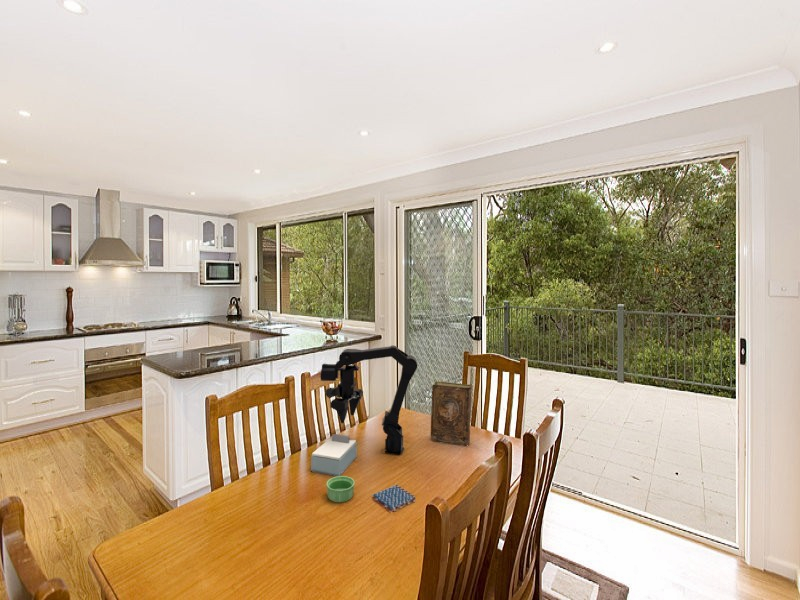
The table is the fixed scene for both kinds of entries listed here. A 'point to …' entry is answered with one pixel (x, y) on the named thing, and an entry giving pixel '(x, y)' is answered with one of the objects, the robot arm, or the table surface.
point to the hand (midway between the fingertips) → (347, 419)
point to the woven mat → (393, 498)
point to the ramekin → (340, 488)
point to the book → (451, 413)
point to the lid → (335, 447)
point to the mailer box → (333, 463)
